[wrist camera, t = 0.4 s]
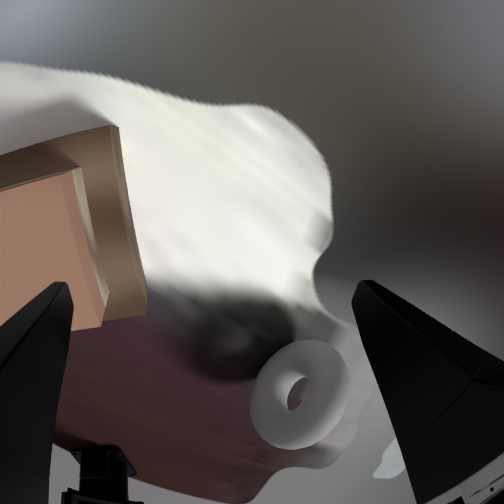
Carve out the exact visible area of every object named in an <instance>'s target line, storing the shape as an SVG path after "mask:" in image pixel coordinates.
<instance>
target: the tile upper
mask: <svg viewBox="0 0 504 504" xmlns="http://www.w3.org/2000/svg"><path fill="white" fill-rule="evenodd" d="M55 281H63V282H66V283H67V284H68V286H69V289H70V293H71V296H72V300H73V304H74V312H73V319H72V326H71V331H74V330H81V329H87V328H94V327H100V326H101V323H102V319H103V315H104V311H105V305H104V302H103V299H102V296H101V292H100V289H99V286H98V282H97V279H96V276H95V272H94V268H93V265H92V261H91V257H90V253H89V249H88V246H87V241H86V237H85V233H84V229H83V224H82V220H81V215H80V210H79V206H78V201H77V195H76V190H75V184H74V179H73V173H72V170H71V171H67V172H63V173H59V174H55V175H51V176H48V177H44V178H40V179H37V180H33V181H29V182H26V183H23V184H19V185H16V186H13V187H9V188H6V189H3V190H0V326H1V325H2V324H3V323H4V322H6V321H7V320H8V319H9V318H10V317H11V316H13V315H14V314H15V313H16V312H17V311H18V310H20V309H21V308H22V307H23V306H24V305H26V304H27V303H28V302H29V301H30V300H32V299H33V298H34V297H35V296H37V295H38V294H39V293H40V292H42V291H43V290H44V289H45V288H47V287H48V286H49V285H50V284H52V283H53V282H55Z"/></svg>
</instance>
